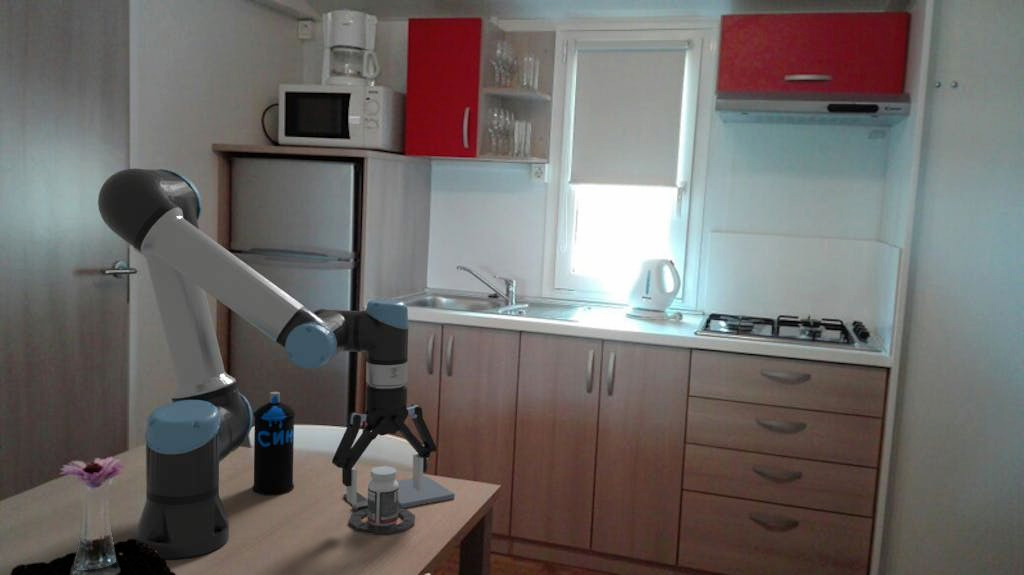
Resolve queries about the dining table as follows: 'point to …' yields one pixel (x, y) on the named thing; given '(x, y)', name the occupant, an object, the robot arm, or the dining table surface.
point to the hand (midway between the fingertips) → (385, 495)
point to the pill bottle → (383, 497)
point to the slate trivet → (422, 493)
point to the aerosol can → (273, 447)
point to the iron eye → (358, 525)
